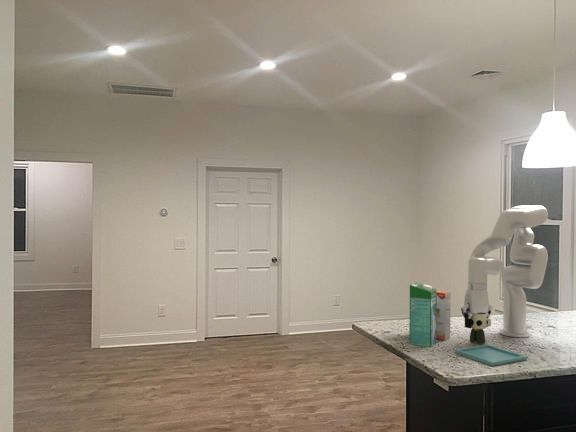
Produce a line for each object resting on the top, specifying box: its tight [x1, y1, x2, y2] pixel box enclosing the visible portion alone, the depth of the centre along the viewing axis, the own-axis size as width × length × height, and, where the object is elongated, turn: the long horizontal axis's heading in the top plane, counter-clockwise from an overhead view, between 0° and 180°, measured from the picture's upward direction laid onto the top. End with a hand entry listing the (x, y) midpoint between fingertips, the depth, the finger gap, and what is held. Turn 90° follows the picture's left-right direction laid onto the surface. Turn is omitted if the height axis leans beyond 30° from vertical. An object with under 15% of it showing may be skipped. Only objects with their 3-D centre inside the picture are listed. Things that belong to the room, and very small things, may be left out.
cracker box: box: [436, 290, 451, 341], centre depth 207 cm, size 14×6×21 cm, turn 47°
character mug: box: [469, 313, 492, 345], centre depth 197 cm, size 11×7×13 cm, turn 51°
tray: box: [454, 343, 528, 367], centre depth 178 cm, size 18×18×2 cm
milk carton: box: [408, 282, 437, 348], centre depth 197 cm, size 9×9×25 cm
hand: (476, 327), depth 197 cm, fingers open, 9 cm apart
